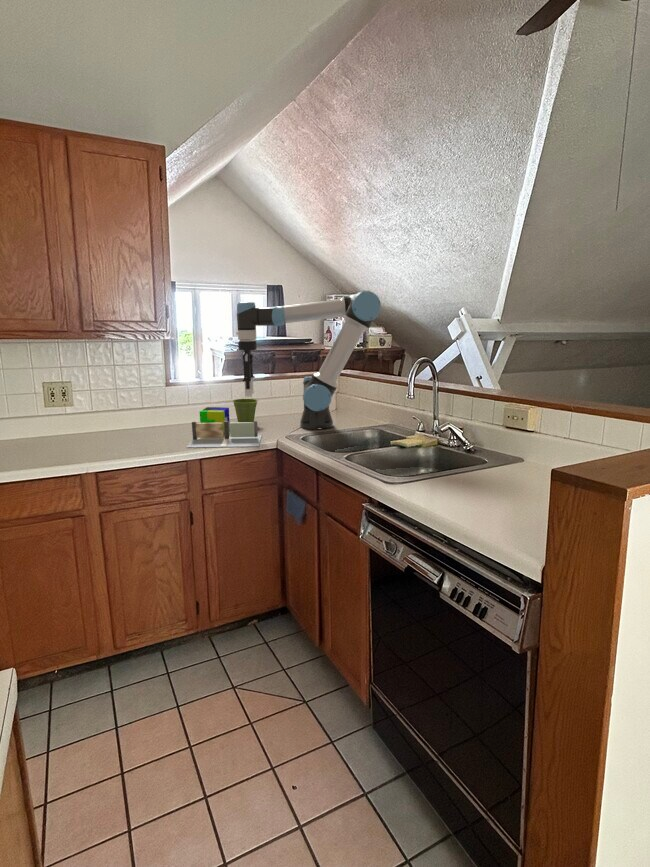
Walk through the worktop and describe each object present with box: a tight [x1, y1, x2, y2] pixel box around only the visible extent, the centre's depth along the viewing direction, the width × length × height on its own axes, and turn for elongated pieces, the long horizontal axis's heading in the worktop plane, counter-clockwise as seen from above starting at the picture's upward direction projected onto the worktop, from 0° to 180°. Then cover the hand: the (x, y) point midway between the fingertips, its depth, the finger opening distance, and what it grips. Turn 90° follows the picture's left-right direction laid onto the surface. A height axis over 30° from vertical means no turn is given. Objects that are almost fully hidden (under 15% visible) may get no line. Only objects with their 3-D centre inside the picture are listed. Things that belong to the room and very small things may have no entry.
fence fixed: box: [191, 421, 230, 440], centre depth 207 cm, size 15×2×8 cm, turn 93°
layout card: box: [186, 434, 263, 449], centre depth 205 cm, size 28×18×1 cm, turn 93°
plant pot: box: [231, 398, 259, 422], centre depth 234 cm, size 12×12×11 cm
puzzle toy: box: [199, 406, 231, 435], centre depth 220 cm, size 10×10×10 cm
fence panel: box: [229, 420, 259, 437], centre depth 207 cm, size 11×1×6 cm, turn 93°
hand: (249, 394), depth 213 cm, fingers open, 7 cm apart
